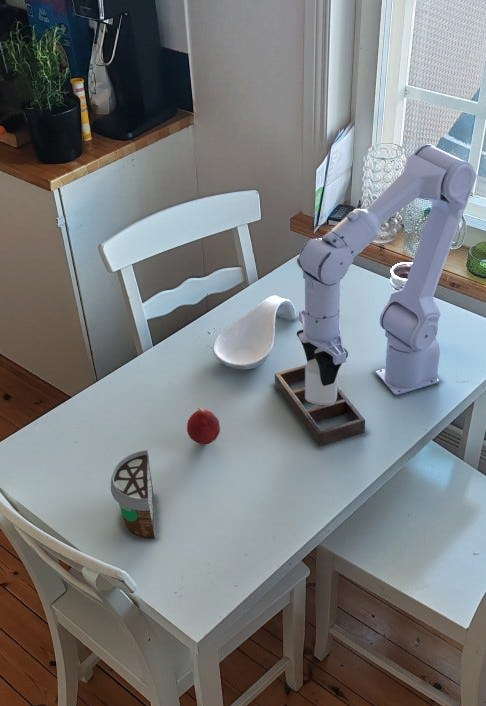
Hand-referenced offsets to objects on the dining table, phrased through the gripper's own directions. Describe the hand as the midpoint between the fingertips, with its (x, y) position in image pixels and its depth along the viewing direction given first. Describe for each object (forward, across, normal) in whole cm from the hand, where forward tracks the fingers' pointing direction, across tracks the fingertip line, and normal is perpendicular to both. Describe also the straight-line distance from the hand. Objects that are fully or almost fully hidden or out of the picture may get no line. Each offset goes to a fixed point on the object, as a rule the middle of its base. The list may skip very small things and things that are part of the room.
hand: (321, 374), depth 162 cm
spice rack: (+10, -3, +1) cm, 11 cm away
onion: (+11, -3, -21) cm, 24 cm away
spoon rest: (+11, -27, -1) cm, 29 cm away
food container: (+11, +10, -38) cm, 41 cm away
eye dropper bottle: (+6, 0, 0) cm, 6 cm away
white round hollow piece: (+11, -21, +29) cm, 37 cm away
